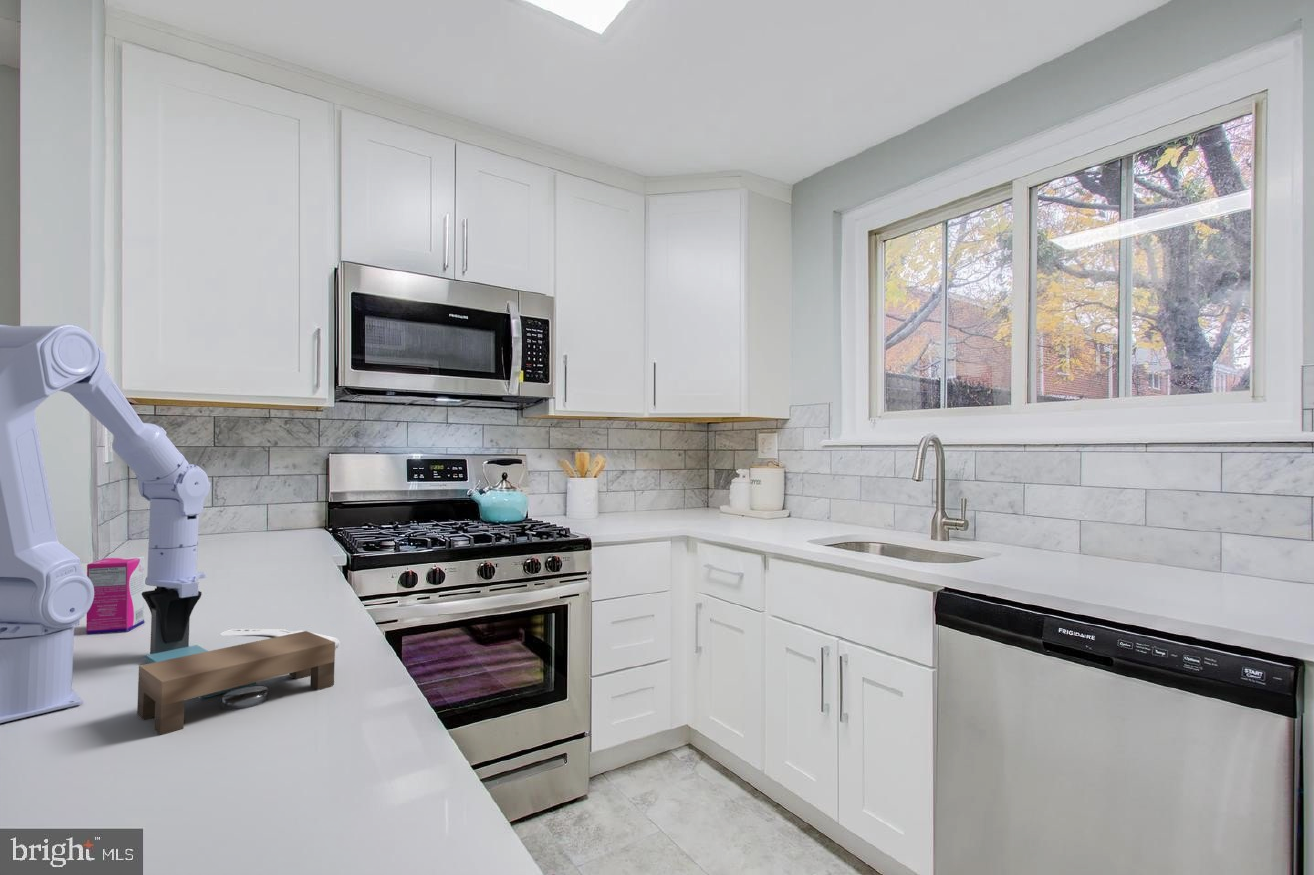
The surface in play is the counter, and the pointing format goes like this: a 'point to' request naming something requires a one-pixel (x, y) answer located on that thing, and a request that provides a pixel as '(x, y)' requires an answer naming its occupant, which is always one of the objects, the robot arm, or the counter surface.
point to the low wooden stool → (229, 673)
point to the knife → (270, 633)
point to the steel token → (244, 697)
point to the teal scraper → (175, 649)
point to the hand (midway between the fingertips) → (170, 639)
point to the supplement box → (116, 595)
